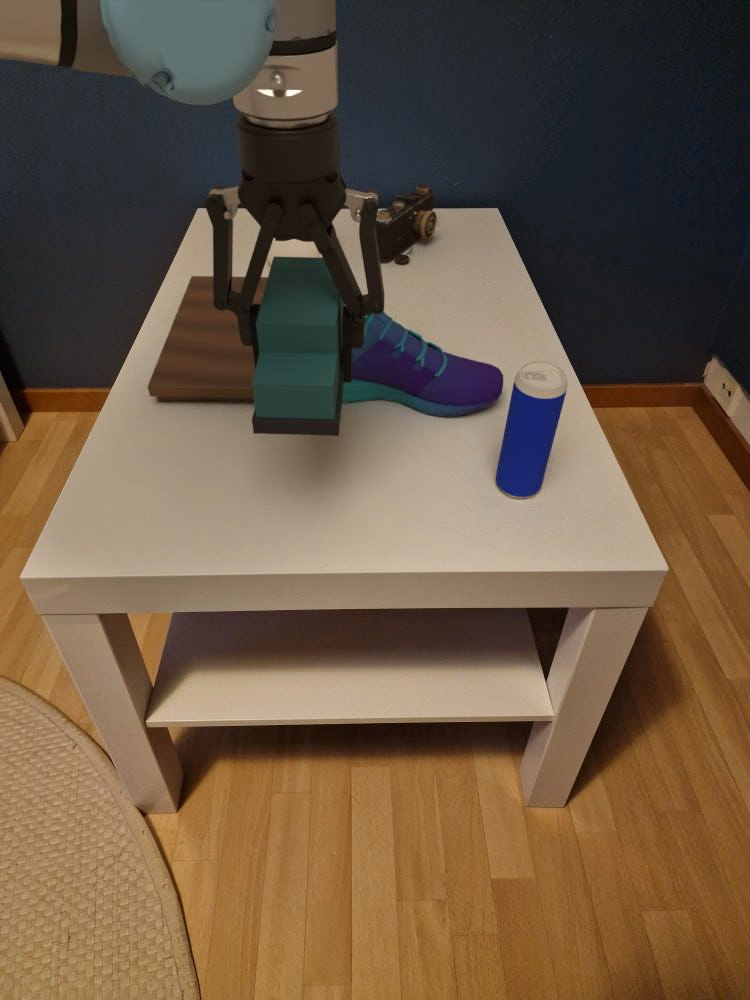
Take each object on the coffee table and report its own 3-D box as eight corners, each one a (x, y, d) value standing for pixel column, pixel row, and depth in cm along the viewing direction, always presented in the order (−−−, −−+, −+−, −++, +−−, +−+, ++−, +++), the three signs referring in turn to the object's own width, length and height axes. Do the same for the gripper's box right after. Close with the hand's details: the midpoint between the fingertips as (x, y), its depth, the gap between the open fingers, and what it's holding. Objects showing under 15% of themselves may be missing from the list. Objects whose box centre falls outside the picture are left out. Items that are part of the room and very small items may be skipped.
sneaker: (498, 424, 85) (513, 340, 76) (292, 401, 88) (284, 317, 79) (501, 377, 92) (515, 294, 83) (310, 356, 95) (305, 275, 86)
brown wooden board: (194, 293, 106) (191, 275, 104) (285, 295, 106) (284, 277, 104) (152, 406, 87) (147, 386, 84) (263, 407, 87) (261, 388, 84)
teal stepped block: (278, 323, 73) (271, 251, 67) (349, 325, 73) (347, 253, 67) (253, 433, 60) (242, 356, 54) (339, 436, 60) (336, 358, 54)
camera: (401, 270, 112) (403, 221, 107) (367, 259, 115) (367, 211, 109) (448, 232, 122) (453, 186, 116) (416, 223, 125) (419, 178, 119)
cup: (336, 269, 112) (334, 209, 105) (278, 281, 109) (272, 220, 102) (315, 244, 118) (312, 186, 111) (259, 255, 115) (253, 196, 108)
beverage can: (537, 469, 79) (564, 359, 69) (543, 501, 76) (574, 391, 65) (492, 468, 79) (513, 358, 69) (497, 500, 76) (519, 389, 65)
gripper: (133, 125, 47) (191, 394, 64) (429, 132, 47) (411, 399, 64) (159, 92, 53) (207, 348, 69) (425, 98, 52) (410, 353, 69)
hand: (305, 372), depth 66 cm, fingers closed on teal stepped block, 7 cm apart
